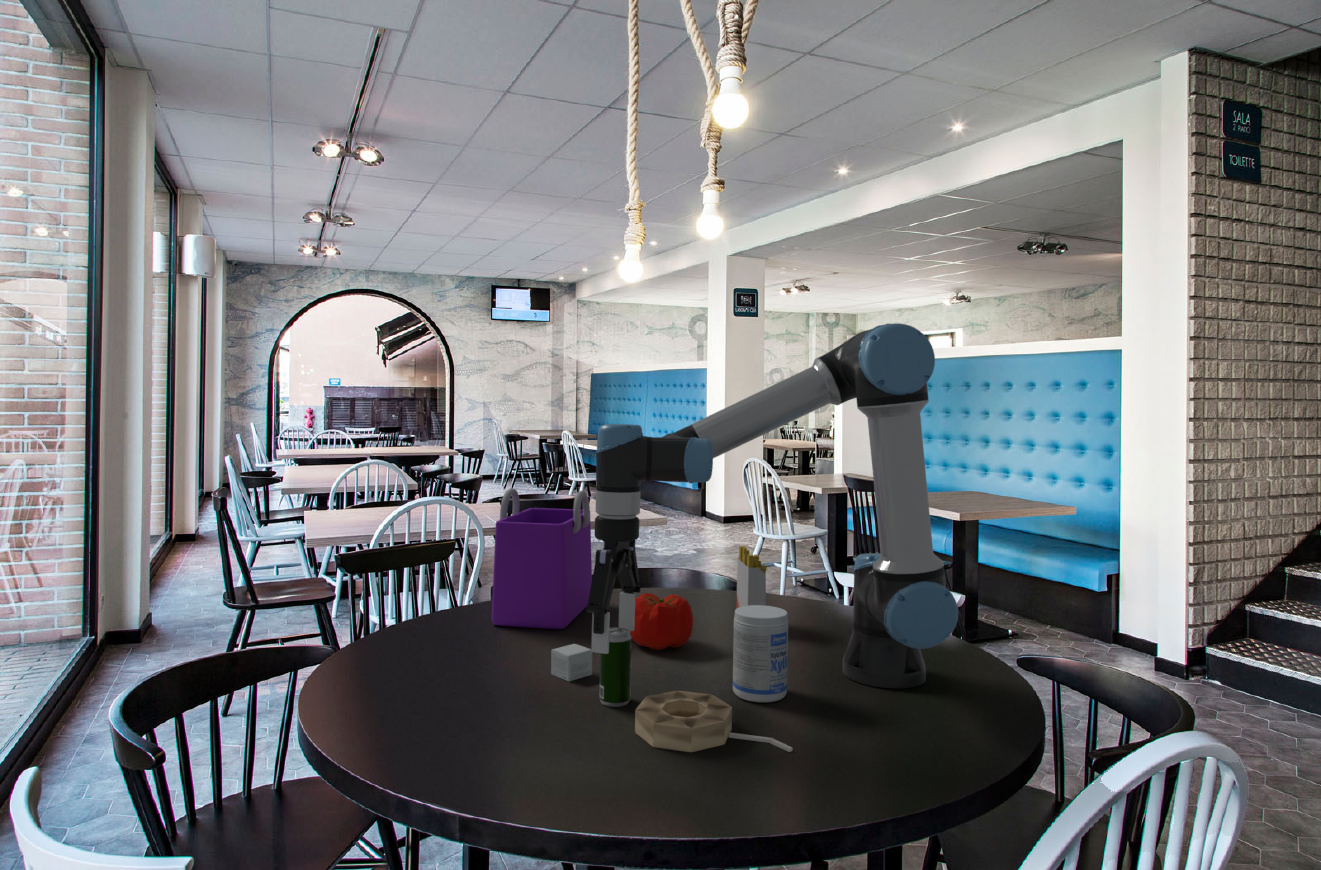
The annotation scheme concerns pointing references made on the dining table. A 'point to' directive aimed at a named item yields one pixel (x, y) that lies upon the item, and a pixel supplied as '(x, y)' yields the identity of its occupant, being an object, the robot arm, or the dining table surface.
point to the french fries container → (750, 579)
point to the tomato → (662, 621)
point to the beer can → (616, 669)
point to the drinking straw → (761, 740)
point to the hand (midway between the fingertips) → (613, 640)
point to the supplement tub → (760, 653)
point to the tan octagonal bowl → (683, 721)
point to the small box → (571, 662)
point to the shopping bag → (541, 564)
